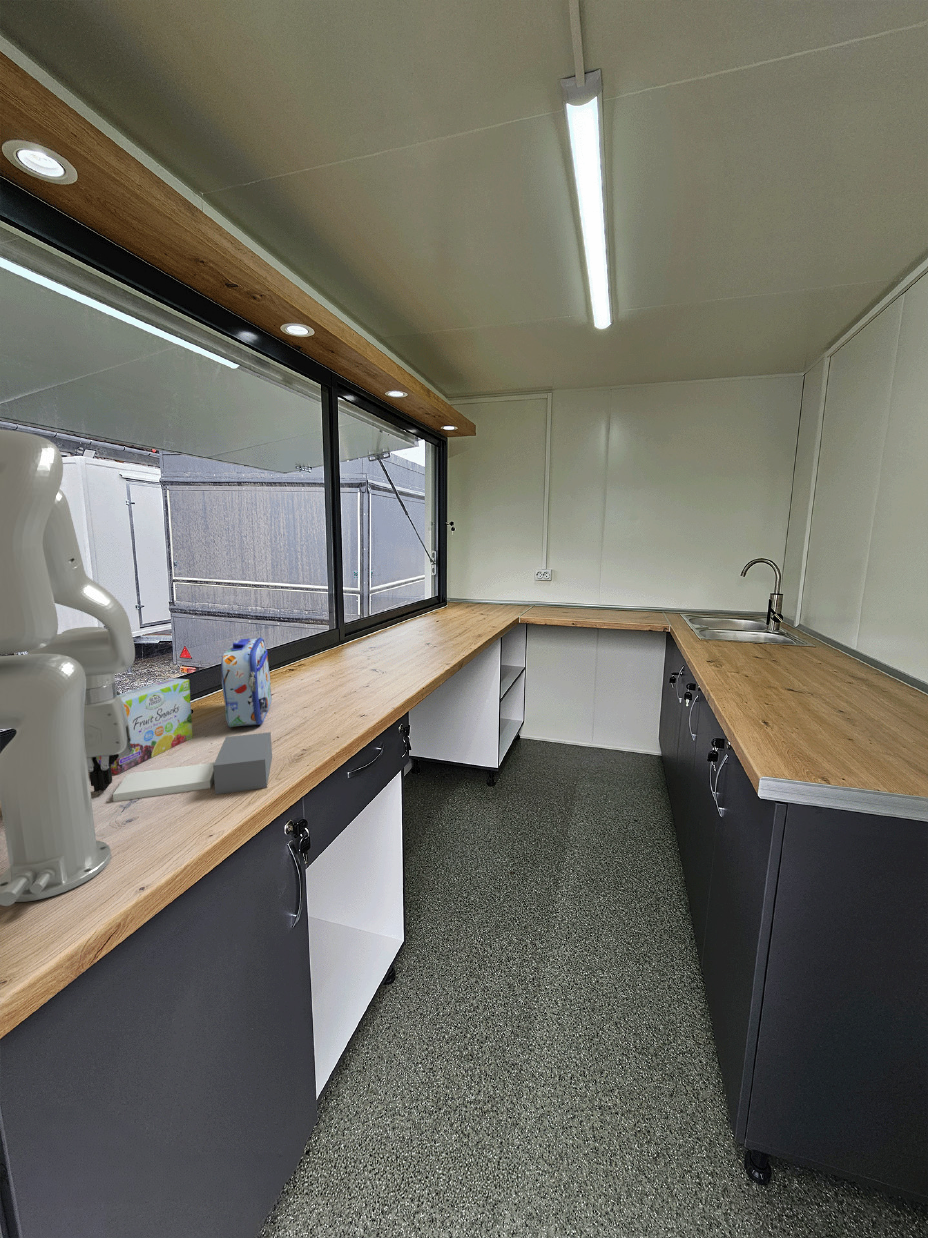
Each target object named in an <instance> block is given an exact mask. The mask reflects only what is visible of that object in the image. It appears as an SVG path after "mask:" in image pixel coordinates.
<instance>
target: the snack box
mask: <svg viewBox="0 0 928 1238" xmlns="http://www.w3.org/2000/svg"><path fill="white" fill-rule="evenodd" d="M117 697H121V699H122V701H123V704H124V707H125V710H126V714H127V718H128V722H129V727H130V734H131V742H130V745H131V748H132V753H131V754H130V755H129V756H126V757H123V758H119V759H117V760H116V761H115V762H114V763H113V764H112V765H111V771H112V775H120V774H121V773H124V772H126V771H128V770H129V769H130V770H131V768H134V767H136V766H137V765H139V764H142V763H144V762H146V761H149V760H150V759H153V758H154V757H156V756H158V755H160V754H162V753H165V752H166V751H168V750H170V749H173V748H175V747H177V746H179V745H181V744H183V743H185V742H187V741H189V740H191V739H193V738H194V737H193V734H194V733H193V723H192V721H193V720H192V719H193V718H192V704H191V689H190V679H188V678H187V679H186V678H172V677H171V678H167V679H164V680H161V681H158V682H155V683H152V684H149V685H145V686H143V687H139V688H136V689H134V690H130V691H127V692H124V693H120V695H117ZM101 757H102V756H101ZM101 757H97V758H98V761H99V764H100V765H101Z"/></svg>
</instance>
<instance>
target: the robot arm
mask: <svg viewBox="0 0 928 1238" xmlns="http://www.w3.org/2000/svg"><path fill="white" fill-rule="evenodd" d="M63 475H64V463H63V457H62V453H61V451H60V450H59V448H58V446H56V444H55V443H54V442H52V441H50V440H49V439H48V438H45V437H42V436H40V435H37V434H33V433H28V432H23V431H17V430H9V429H1V428H0V730H10V729H11V730H15V731H16V733H15V735H14V737H12V739H11V740H10V741H9V742H8V743H7V744H6V745H5V747H4V748H3V749H2V750H1V751H0V809H1V815H2V822H3V824H2V825H3V830H4V837H5V842H6V850H7V857H8V858H7V859H8V863H9V864H8V865H9V868H7V869H6V870H4V872H3V873H2V874H1V875H0V906H3V907H9V906H12V905H13V904H15V902H16V903H25V902H32V901H37V900H44V899H47V898H51V897H54V896H57V895H60V894H63V893H66V892H67V891H71V890H72V889H75V888H77V887H78V886H81V885H83V884H85V883H86V882H88V881H89V880H91V879H93V878H94V877H96V876H97V875H99V874H100V873H101V872H102V871H103V870H104V869H105V868H106V866H108V864H109V862H110V861H111V859H112V853H111V851H112V850H111V847H110V845H109V844H107V843H106V842H104V841H100V840H97V837H96V828H95V827H96V826H95V818H94V810H93V809H94V808H93V801H92V795H91V794H92V793H91V787H93V791H94V792H95V793H97V792H99V791H101V792H104V791H106V790H107V789H108V787H109V786H110V785H111V784H112V783H113V774H112V771H111V765H112V764H113V763H114V762H115V761H116V760H117V759H119V758H123V757H126V756H129V755H130V754H131V753H132V748H131V745H130V742H131V734H130V727H129V722H128V718H127V714H126V710H125V707H124V704H123V701H122V699H121V697H117V691H118V690H117V683H116V675H117V674H121V673H124V672H126V671H128V670H129V669H130V668H132V666H133V664H134V662H135V659H136V648H135V647H136V646H135V642H134V637H133V633H132V629H131V623H130V619H129V616H128V613H127V612H126V610H125V608H124V606H123V605H122V603H120V601H119V600H118V599H117V598H116V597H115V596H114V595H113V594H112V593H111V592H110V591H108V590H107V589H106V588H104V587H103V586H101V584H99V583H97V582H96V581H94V580H93V579H92V578H91V577H89V576H88V575H87V573H86V570H85V567H84V562H83V558H82V554H81V550H80V546H79V542H78V538H77V534H76V529H75V526H74V521H73V519H72V518H73V517H72V514H71V510H70V509H71V508H70V505H69V501H68V499H67V497H66V495H65V493H64V492H63V491H62V490H61V489H60V488H61V486H62V481H63ZM56 604H58V605H60V606H63V607H67V608H70V609H73V610H76V611H80V612H83V613H85V614H87V615H89V616H91V617H93V618H95V619H97V620H98V621H99V622H101V623H102V625H103V626H104V627H102V626H85V627H84V626H83V627H74V628H69V629H67V630H63V631H62V632H61V633H58V631H59V630H58V629H59V619H58V612H57V607H56ZM24 652H27V653H26V654H16V653H24ZM5 654H6V655H5ZM8 654H11V655H8ZM12 654H14V655H12ZM15 654H16V655H15ZM116 690H117V691H116ZM101 756H102V757H101ZM97 757H101V765H100V764H99V761H98V758H97Z"/></svg>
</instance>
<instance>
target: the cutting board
mask: <svg viewBox="0 0 928 1238" xmlns="http://www.w3.org/2000/svg"><path fill="white" fill-rule="evenodd" d="M214 763H215V761H214V762H207V763H199V764H192V765H183V766H176V767H175V766H174V767H168V768H161V769H160V768H159V769H154V770H153V769H151V770H146V771H145V770H144V771H136V772H129V773H127V774H126V775H125V777H124V779H123V780H122V781H121V783H120V784H119V785H118V786H117V788H116V789H115V791H114V792H113V793H112V800H113V802H114V803H115V802H120V801H122V802H123V801H127V800H129V801H130V800H134V799H135V800H136V799H141V798H149V797H156V796H158V797H159V796H164V795H171V794H179V793H184V792H194V791H198V790H206V789H211V788H212V784H213V783H214V769H213V765H214Z"/></svg>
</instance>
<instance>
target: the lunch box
mask: <svg viewBox="0 0 928 1238" xmlns="http://www.w3.org/2000/svg"><path fill="white" fill-rule="evenodd" d="M268 659H269V658H268V650H267V649H266V644H265V639H264V638H263V637H258V638H241V639H236V640H235V641H234V642H233V643H232V645H230V646H229V648H228V649H227V650H226V651H224V652H223V655H222V657H221V661H220V662H221V664H220V665H221V666H220V667H221V687H222V693H223V694H222V695H223V701H224V706H225V707H224V709H225V713H224V714H225V721H226V723H227V726H228V728H233V727H244V726H256V725H258V726H261V725H262V724H263V723H264V721H265V719H266V716H267V714H268V712H269V711H270V707H271V703H272V700H273V699H272V688H271V675H270V667H269V660H268Z"/></svg>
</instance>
